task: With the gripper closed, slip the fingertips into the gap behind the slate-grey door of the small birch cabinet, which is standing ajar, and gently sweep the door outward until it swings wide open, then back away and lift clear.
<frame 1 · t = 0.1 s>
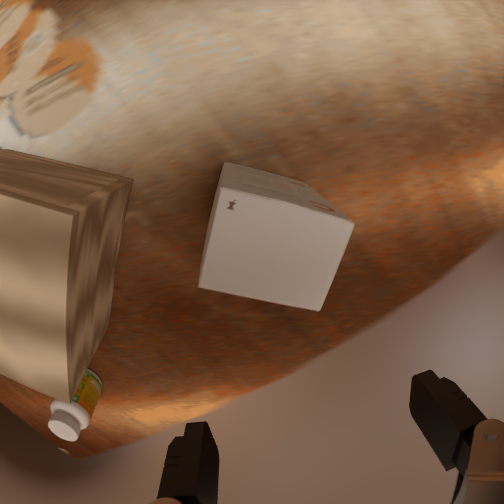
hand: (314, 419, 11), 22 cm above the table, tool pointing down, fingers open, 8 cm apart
supplement bottle: (85, 378, 38), on the table
small box: (256, 202, 31), on the table
cabinet: (53, 239, 30), on the table
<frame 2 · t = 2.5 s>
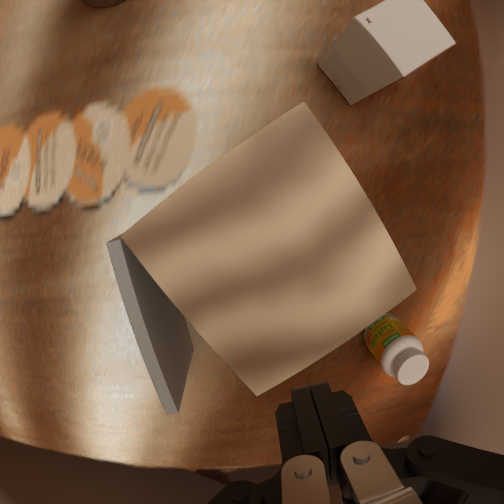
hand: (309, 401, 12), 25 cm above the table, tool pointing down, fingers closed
supplement bottle: (380, 330, 40), on the table
small box: (357, 69, 32), on the table
cabinet: (265, 232, 36), on the table
door: (153, 310, 31), point 6 cm above the table, hinge at 25.0°
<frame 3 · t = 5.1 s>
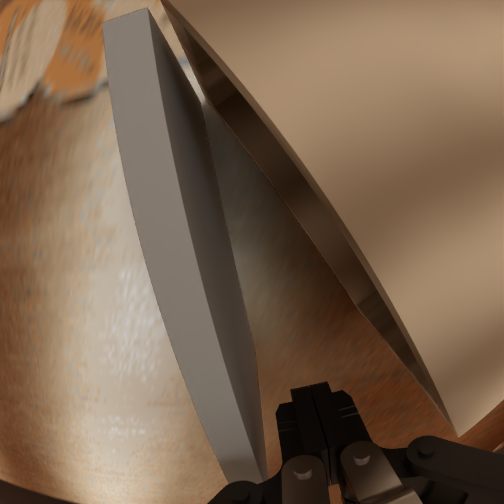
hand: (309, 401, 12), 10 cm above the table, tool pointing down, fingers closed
cabinet: (387, 139, 19), on the table
door: (196, 269, 14), point 6 cm above the table, hinge at 25.1°, touching gripper
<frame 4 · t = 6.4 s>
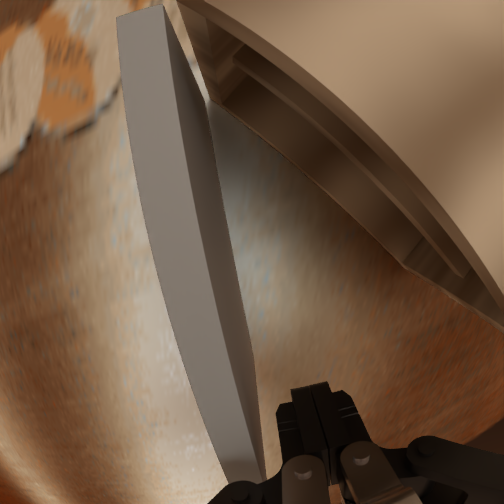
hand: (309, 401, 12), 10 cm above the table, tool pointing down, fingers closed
cabinet: (390, 98, 18), on the table
door: (199, 268, 14), point 7 cm above the table, hinge at 40.7°, touching gripper
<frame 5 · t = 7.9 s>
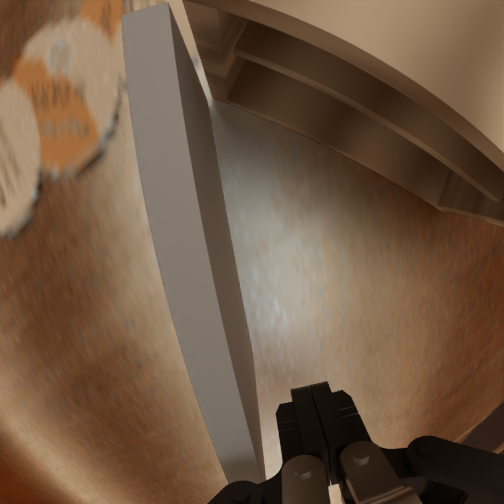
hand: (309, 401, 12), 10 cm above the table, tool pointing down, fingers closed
cabinet: (379, 53, 18), on the table
door: (200, 267, 14), point 6 cm above the table, hinge at 57.7°, touching gripper
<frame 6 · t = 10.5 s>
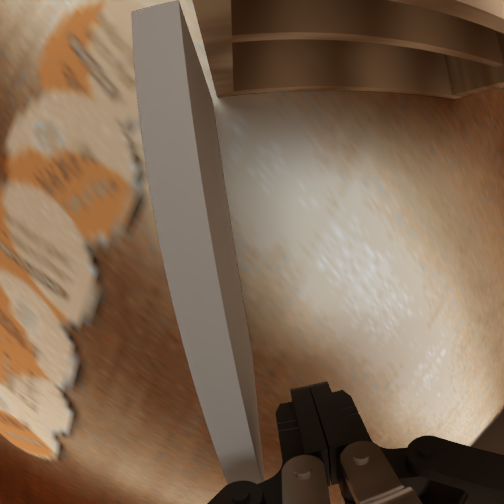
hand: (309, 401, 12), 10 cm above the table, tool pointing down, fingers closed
door: (202, 266, 14), point 6 cm above the table, hinge at 87.7°, touching gripper
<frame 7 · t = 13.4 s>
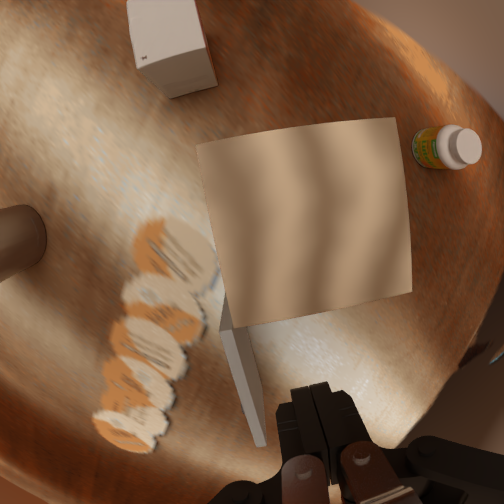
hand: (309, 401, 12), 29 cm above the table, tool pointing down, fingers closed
supplement bottle: (426, 148, 38), on the table
small box: (187, 64, 35), on the table
cabinet: (294, 206, 39), on the table
door: (240, 367, 37), point 6 cm above the table, hinge at 87.9°
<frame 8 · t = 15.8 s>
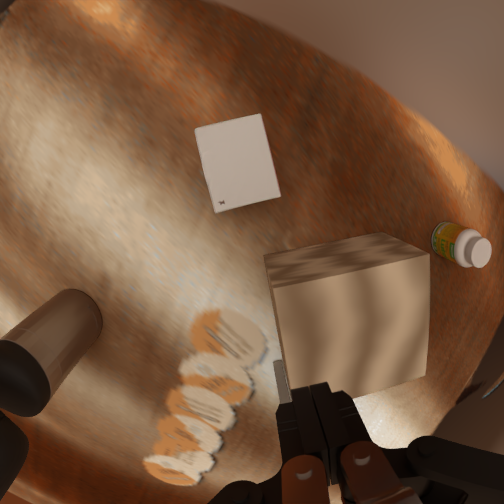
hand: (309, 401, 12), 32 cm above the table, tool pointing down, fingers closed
supplement bottle: (443, 238, 44), on the table
small box: (238, 166, 41), on the table
cabinet: (332, 297, 45), on the table
door: (287, 425, 43), point 6 cm above the table, hinge at 87.9°
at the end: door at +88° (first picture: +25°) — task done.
